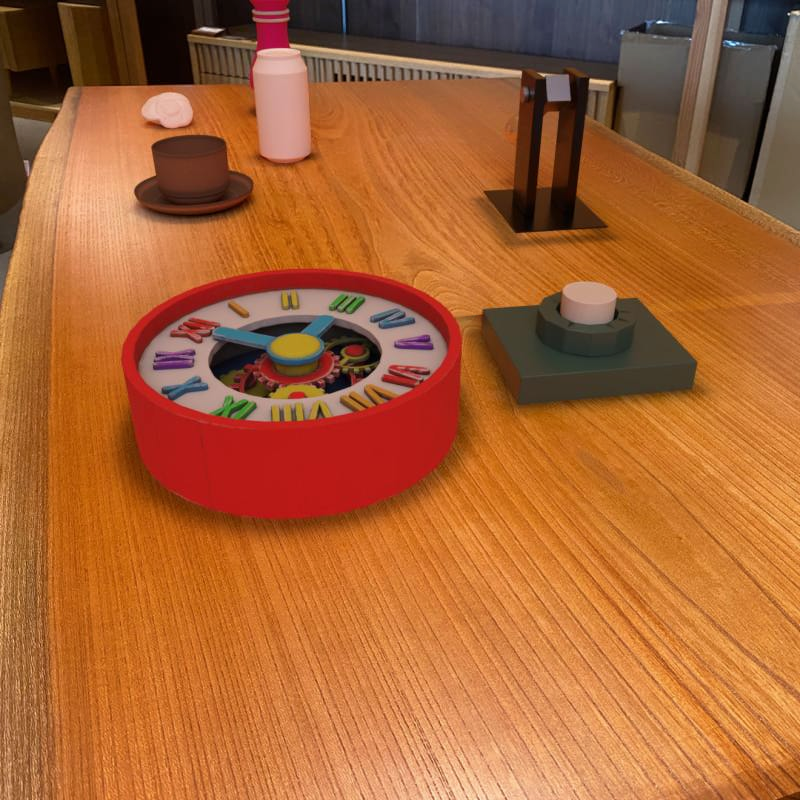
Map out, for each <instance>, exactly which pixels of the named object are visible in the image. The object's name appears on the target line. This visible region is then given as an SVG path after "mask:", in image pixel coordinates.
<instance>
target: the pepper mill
mask: <svg viewBox="0 0 800 800" xmlns="http://www.w3.org/2000/svg"><path fill="white" fill-rule="evenodd" d="M249 1H250V3H251V5H253V7H254V8H253V9H252V10H251V13H252V21H253V22H255V25H256V34H257V35H256V42H257V43H256V48H255V53H254V56H253V60H252V62H251V66H250V70H249V71H250V72H249V85H250V87H251V89H252V90H253V91H254V82H253V71H252V69H253V67H254V64H255V62H256V59H257V52H258V51H261V50H265V49H274V48H288V49H292V48H291V45H290V42H289V36H288V22H289V21H290V20H291V17H290V14H289V13H290V8H287V6H288V4H289V2H290V1H291V0H249Z"/></svg>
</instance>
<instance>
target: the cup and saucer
mask: <svg viewBox="0 0 800 800" xmlns="http://www.w3.org/2000/svg"><path fill="white" fill-rule="evenodd" d="M227 148H228V146H227V141H226V140H225V139H224V138H222V137H218V136H216V135H210V134H209V135H208V134H183V135H175V136H170V137H165V138H162V139H159V140H157V141H155V142H153V144H152V145H151V146H150V150H151V155H152V160H153V166H154V172H155V175H153V176H150V177H147V178H146V179H143V180H141V181H140V182H138V183H137V185H136V186H135V187H134V189H133V193H134V196H135V198H136V200H137V201H138V202H139V203H140V204H142V205H143V206H145V207H146V208H148V209H150V210H153V211H156V212H160V213H165V214H170V215H183V216H184V215H189V216H190V215H203V214H210V213H216V212H220V211H224V210H227V209H229V208H232V207H235V206H236V205H238V204H241V203H242V202H244V201H245V200H247V198H248V197H249V196H250V195H251V193H252V192H253V191H254V180H253V179H252V178H251V177H250V176H249V175H247V174H244V173H242V172H239V171H236V170H231V169H229V168H230V167H229V158H228V149H227Z"/></svg>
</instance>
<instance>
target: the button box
mask: <svg viewBox="0 0 800 800" xmlns="http://www.w3.org/2000/svg"><path fill="white" fill-rule="evenodd" d="M562 291H563V290H561V291H558V292H555V293H553V294H550V295H548V296H545V297H543V298H542V300H541V302H540V303H539V304H530V305H518V306H504V307H503V306H502V307H490V308H489V307H487V308H483V309H482V311H481V312H482V313H481V326H480V327H481V328H480V335H481V337H482V339H483V341H484V343H485V344H486V346H487V348H488V350H489V352H490V354H491V356H492V358H493V360H494V361H495V364H496V366H497V367H498V369H499V371H500V373H501V375H502V378H503V379H504V380H505V383H506V385H507V386H508V388H509V390H510V392H511V393H512V396H513V398H514V400H515V401H516V403H517V405H519V406H523V405H524V406H525V405H532V404H534V405H535V404H545V403H553V402H554V403H556V402H557V403H558V402H565V401H566V402H567V401H578V400H579V401H580V400H588V399H590V400H591V399H600V398H610V397H611V398H612V397H622V396H632V395H633V396H635V395H644V394H656V393H666V392H678V391H689V390H693V386H694V382H695V378H696V377H695V376H696V373H697V368H698V364H699V363H698V360H697V359H695V357H694V356H693V355H692V354H691V353H690V352H689V351H688V350H687V348H686V347H684V346H683V344H681V343H680V342H679V340H678V339H677V338H676V337H675V336H674V335H673V334H672V333H671V332H670V331H669V330H668V328H667V327H665V325H664V324H663V323H662V322H661V321H660V320H659V319H658V318H657V317H656V316H655V315H654V314H653V313H652V312H651V310H649V308H647V306H645V304H644V303H643V302H642V301H641V300H640V299H639V298H638V297H626V298H619V297H617V298H616V305H615V312H614V318H613V320H612V321H611V322H609V323H606V324H593V325H587V324H581V323H575V322H572V321H570V320H568V319H566V318H564V317H561V315H560V308H561V299H562Z"/></svg>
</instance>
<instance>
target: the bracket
mask: <svg viewBox="0 0 800 800" xmlns="http://www.w3.org/2000/svg"><path fill="white" fill-rule="evenodd" d="M562 75H569V84H570V95H571V101H570V102H569V103H568V104H567V105H566V106H565V107H564V109H563V110H562V111H558V119H557V130H556V140H555V149H554V159H553V170H552V179H551V186H546V187H545V186H544V187H538V180H539V170H540V159H541V157H540V156H541V155H540V154H541V145H542V137H543V136H542V135H543V125H544V117H543V114H544V103H545V92H546V80H547V79H546V78H545V76H543V75H542V74H540V73H539V72H537V71H536V70H535V69H533V68H523V69H521V79H520V91H519V105H518V112H519V118H518V131H517V144H516V146H515V159H514V173H513V187H512V188H511V189H510V188H509V189H491V190H489V189H488V190H483V193H484V196H486V197H487V199H488V200H489V201H490V202H491V204H492V205H493V207H494V208H495V209H496V210H497V212H499V214H500V216H501V217H502V218H503V220H505V223H507V224H508V226H509V227H510V228H511V229H512V231H513V232H514V234H525V233H542V232H560V231H576V230H577V231H578V230H591V229H594V230H595V229H605V228H606V229H607V228H608V229H609V225H608V224H606V223H605V222H604V221H603V220H602V219H601V218H600V217H599V216H598V215H597V214H596V213H595V212H594V211H593V210H592V209H590V207H589V206H587V204H585V202H583V201H582V200H581V199H580V198H579V197H578V196H577V193H578V192H577V191H578V184H579V175H580V165H581V158H582V149H583V141H584V140H583V139H584V132H585V123H586V116H587V115H586V114H587V107H588V105H587V104H588V99H589V98H588V96H589V89H590V82H591V81H590V80H591V77H590V76H589V75H587V74H585V73H584V72H582V71H581V70H578V69H577V68H575V67H563V70H562Z"/></svg>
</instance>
